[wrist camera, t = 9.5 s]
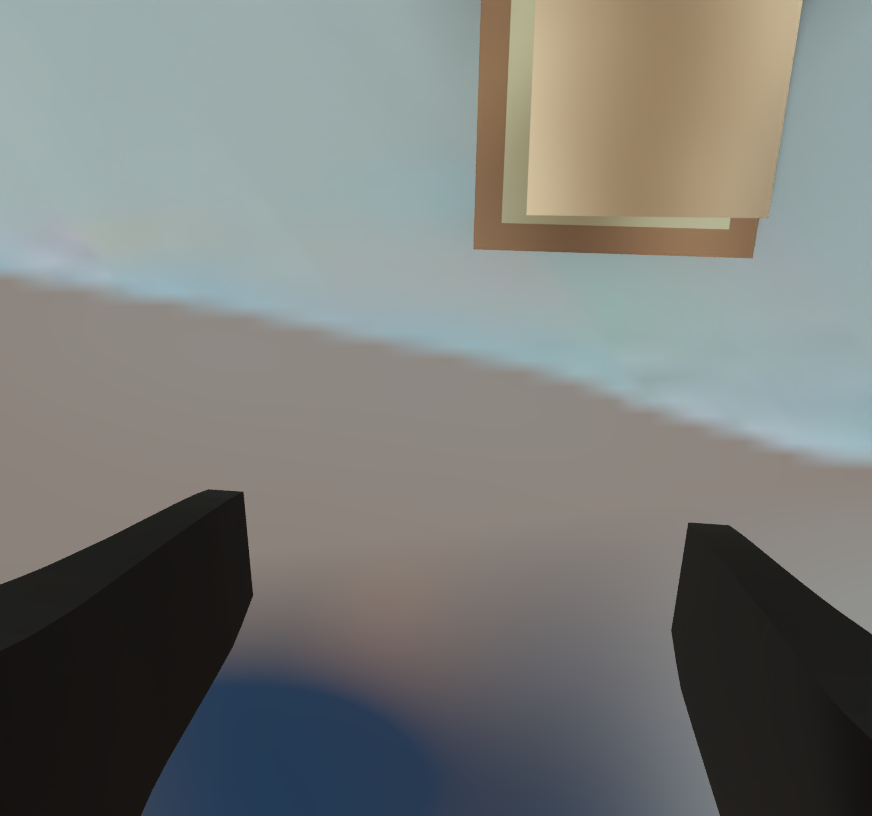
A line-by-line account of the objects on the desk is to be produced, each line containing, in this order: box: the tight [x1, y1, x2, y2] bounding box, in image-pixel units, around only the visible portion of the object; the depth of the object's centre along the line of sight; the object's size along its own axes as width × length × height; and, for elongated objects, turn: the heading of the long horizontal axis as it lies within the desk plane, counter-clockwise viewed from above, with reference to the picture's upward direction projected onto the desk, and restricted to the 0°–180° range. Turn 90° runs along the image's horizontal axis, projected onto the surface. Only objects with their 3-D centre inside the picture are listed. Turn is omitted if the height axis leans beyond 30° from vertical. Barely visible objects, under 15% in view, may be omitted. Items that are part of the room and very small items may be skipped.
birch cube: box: [526, 0, 803, 218], centre depth 15 cm, size 4×4×4 cm
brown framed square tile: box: [474, 0, 759, 258], centre depth 18 cm, size 7×7×1 cm
